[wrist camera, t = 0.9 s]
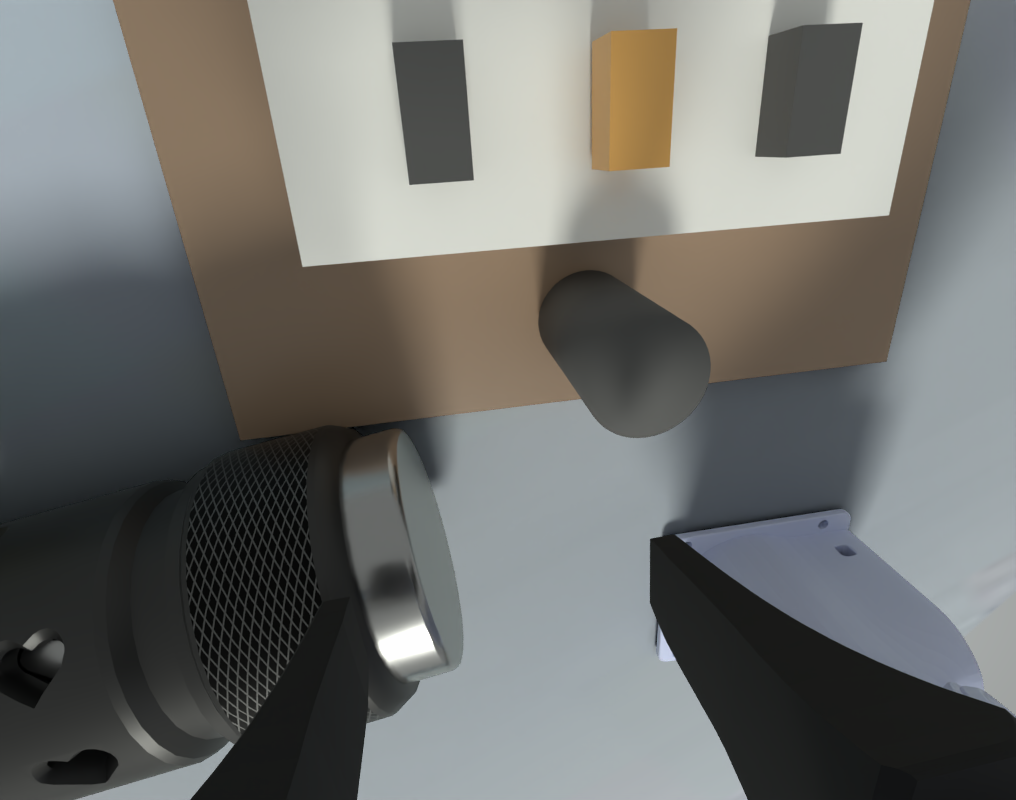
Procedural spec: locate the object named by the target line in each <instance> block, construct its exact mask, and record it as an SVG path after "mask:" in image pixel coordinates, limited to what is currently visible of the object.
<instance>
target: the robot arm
mask: <svg viewBox="0 0 1016 800" xmlns="http://www.w3.org/2000/svg"><path fill="white" fill-rule="evenodd" d="M821 521H822V522H821ZM850 521H851V516H850V514H849V513H848V512H846V511H845V510H843V509H836V510H830V511H823V512H817V513H810V514H804V515H798V516H791V517H785V518H778V519H772V520H765V521H759V522H753V523H746V524H740V525H733V526H727V527H720V528H714V529H708V530H701V531H695V532H688V533H682V534H673V535H668V536H663V537H658V538H652V539H650V604H651V606H652V609H653V611H654V614H655V616H656V619H657V621H658V634H657V649H656V653H657V655H658V658H659V659H660V660H661V661H664V662H666V661H673V660H676V661H677V662H678V664H679V666H680V668H681V670H682V671H683V673H684V675H685V677H686V679H687V680H688V682H689V684H690V686H691V687H692V689H693V691H694V693H695V694H696V696H697V698H698V700H699V702H700V703H701V705H702V707H703V709H704V710H705V712H706V714H707V716H708V717H709V719H710V721H711V723H712V725H713V726H714V728H715V730H716V732H717V734H718V736H719V738H720V740H721V742H722V744H723V746H724V748H725V750H726V752H727V754H728V756H729V758H730V761H731V763H732V765H733V767H734V770H735V772H736V774H737V776H738V779H739V781H740V783H741V785H742V787H743V790H744V792H745V794H746V796H747V799H748V800H1016V716H1015V715H1014V714H1013V713H1012V712H1011V711H1009V710H1008V709H1007V708H1006V707H1005V706H1003V705H1002V704H1001V703H1000V702H998V701H997V700H996V699H995V698H993V697H992V696H991V695H989V694H988V693H987V692H985V691H984V685H983V679H982V675H981V672H980V669H979V666H978V664H977V661H976V659H975V657H974V655H973V653H972V651H971V650H970V648H969V646H968V644H967V643H966V641H965V639H964V638H963V636H962V635H961V633H960V632H959V631H958V629H957V628H956V626H955V625H954V624H953V623H952V622H951V621H950V619H949V618H948V617H947V616H946V615H945V614H944V613H943V612H942V611H941V610H940V609H939V608H938V607H937V606H935V605H934V604H933V603H932V602H931V601H930V600H929V599H927V598H926V597H925V596H924V595H923V594H922V593H920V592H919V591H918V590H917V589H916V588H915V587H914V586H912V585H911V584H910V583H909V582H908V581H907V580H906V579H904V578H903V577H902V576H901V575H900V574H899V573H897V572H896V571H895V570H894V569H893V568H892V567H891V566H889V565H888V564H887V563H886V562H885V561H884V560H882V559H881V558H880V557H879V556H878V555H877V554H876V553H874V552H873V551H872V550H871V549H870V548H869V547H868V546H866V545H865V544H864V543H863V542H862V541H861V540H859V539H858V538H857V537H856V536H855V535H854V534H853V533H851V532H850V531H849V530H848V529H849V525H850ZM820 522H821V523H820ZM685 542H688V543H685ZM368 688H369V660H368V656H367V653H366V649H365V646H364V643H363V639H362V636H361V632H360V629H359V625H358V622H357V618H356V615H355V611H354V608H353V604H352V601H351V598H350V597H345V598H339V599H334V600H329V601H324V602H323V603H322V604H321V605H320V606H319V608H318V610H317V612H316V614H315V616H314V618H313V620H312V622H311V624H310V625H309V627H308V629H307V631H306V633H305V635H304V637H303V638H302V640H301V642H300V644H299V645H298V647H297V649H296V651H295V653H294V654H293V656H292V658H291V659H290V661H289V663H288V664H287V666H286V668H285V669H284V671H283V673H282V674H281V676H280V678H279V679H278V681H277V683H276V684H275V686H274V688H273V689H272V691H271V692H270V694H269V695H268V697H267V698H266V700H265V701H264V703H263V704H262V706H261V707H260V709H259V710H258V712H257V713H256V715H255V716H254V718H253V719H252V721H251V722H250V724H249V725H248V727H247V728H246V729H245V731H244V732H243V734H242V735H241V736H240V738H239V739H238V741H237V742H236V743H235V745H234V746H233V747H232V749H231V750H230V751H229V753H228V754H227V755H226V756H225V758H224V759H223V760H222V762H221V763H220V764H219V766H218V767H217V768H216V769H215V771H214V772H213V773H212V774H211V775H210V777H209V778H208V779H207V780H206V781H205V783H204V784H203V785H202V786H201V787H200V789H199V790H198V791H197V792H196V794H195V795H194V796H193V797H192V798H191V800H357V795H358V786H359V778H360V770H361V762H362V754H363V746H364V737H365V729H366V721H367V712H368Z"/></svg>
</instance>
